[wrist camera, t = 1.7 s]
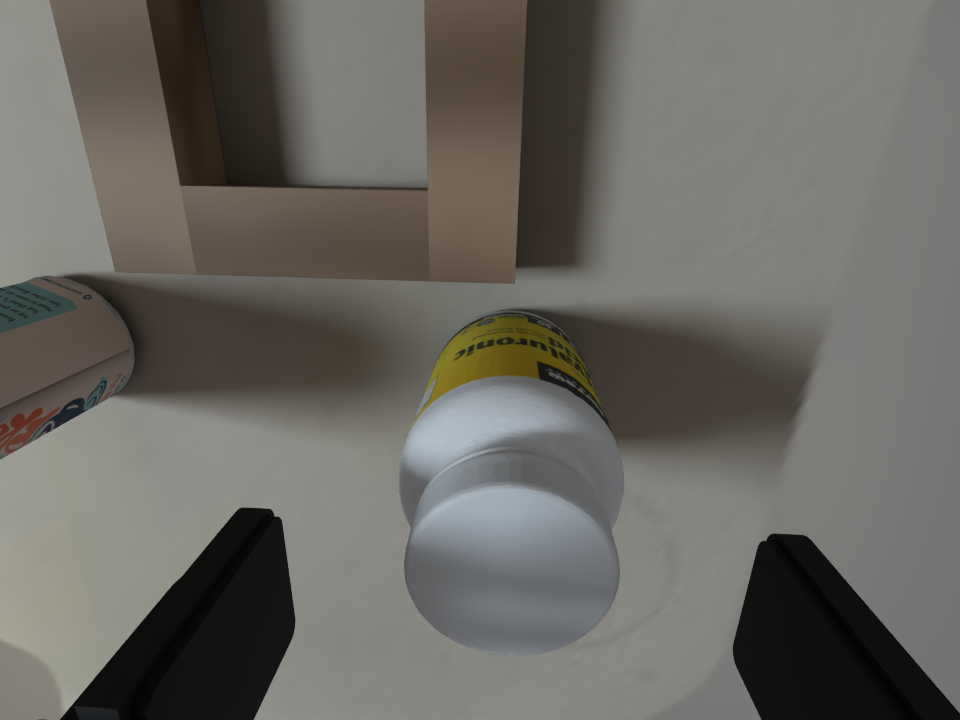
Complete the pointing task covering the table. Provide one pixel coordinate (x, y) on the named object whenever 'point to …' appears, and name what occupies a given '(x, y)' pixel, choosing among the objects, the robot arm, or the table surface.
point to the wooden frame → (288, 208)
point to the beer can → (56, 356)
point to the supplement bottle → (511, 491)
